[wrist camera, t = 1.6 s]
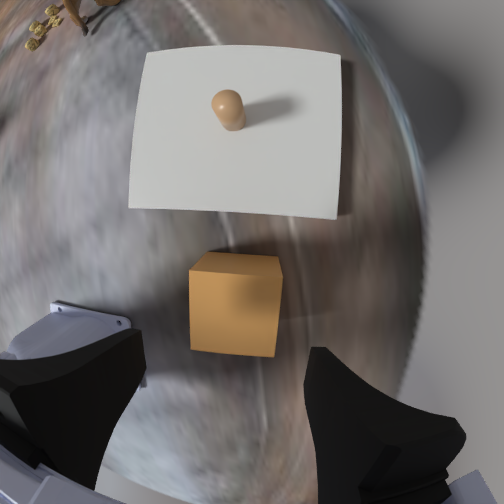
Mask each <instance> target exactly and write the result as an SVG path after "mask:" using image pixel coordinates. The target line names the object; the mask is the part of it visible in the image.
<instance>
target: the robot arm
mask: <svg viewBox="0 0 504 504" xmlns="http://www.w3.org/2000/svg"><path fill="white" fill-rule="evenodd" d="M50 309H51V313H50V314H48V315H47V316H45V317H44V318H42V319H41V320H39V321H38V322H36V323H35V324H33V325H31V326H30V327H28V328H27V329H25V330H24V331H22V332H21V333H19V334H18V335H17V336H16V337H15V338H14V339H13V340H12V341H11V343H10V345H9V347H8V350H7V352H6V351H4V352H2V353H1V354H0V503H1V504H125V503H123V502H120V501H117V500H115V499H112V498H110V497H107V496H105V495H102V494H100V493H97V492H95V491H94V490H95V485H96V481H97V476H98V473H99V469H100V466H101V462H102V459H103V456H104V453H105V450H106V448H107V445H108V442H109V440H110V437H111V435H112V432H113V430H114V428H115V426H116V424H117V422H118V420H119V418H120V416H121V415H122V413H123V412H124V410H125V408H126V407H127V405H128V403H129V402H130V400H131V398H132V397H133V395H134V393H135V392H136V391H140V389H141V384H140V383H141V380H142V378H143V375H144V373H145V370H146V362H145V355H144V348H143V341H142V333H141V330H137V329H131V322H130V320H129V319H128V318H126V317H122V316H116V315H111V314H106V313H101V312H96V311H91V310H86V309H82V308H77V307H73V306H69V305H64V304H60V303H56V302H52V303H51V304H50ZM118 320H119V321H120V322H121V324H120V323H119V321H118ZM303 385H304V398H305V406H306V410H307V415H308V419H309V424H310V428H311V432H312V437H313V441H314V446H315V452H316V463H317V478H318V504H497V502H496V501H495V499H494V497H493V495H492V493H491V491H490V490H489V488H488V486H487V484H486V483H485V481H484V479H483V477H482V476H481V474H480V472H479V471H478V470H475V471H473V472H471V473H469V474H467V475H465V476H463V477H461V478H459V479H457V480H455V481H453V482H452V483H451V484H449V485H447V483H446V481H445V479H447V478H448V476H449V474H448V472H447V470H446V468H447V467H448V466H449V464H450V463H451V462H452V461H453V460H454V458H455V457H456V456H457V454H458V453H459V452H460V450H461V449H462V448H463V446H464V443H465V441H466V433H465V432H464V430H463V429H462V427H461V426H460V424H459V423H458V422H457V420H456V419H455V418H452V417H447V416H442V415H437V414H433V413H429V412H426V411H422V410H419V409H416V408H414V407H411V406H408V405H406V404H404V403H401V402H399V401H397V400H395V399H393V398H391V397H389V396H387V395H385V394H384V393H382V392H380V391H379V390H377V389H375V388H374V387H372V386H371V385H369V384H368V383H367V382H365V381H364V380H363V379H361V378H360V377H359V376H357V375H356V374H355V373H354V372H353V371H351V370H350V369H349V368H348V367H347V366H346V365H345V364H343V363H342V362H341V361H340V360H339V359H338V358H337V357H336V356H335V355H334V354H333V353H332V352H331V351H329V350H328V349H327V348H326V347H311V350H310V355H309V360H308V365H307V370H306V375H305V380H304V384H303Z"/></svg>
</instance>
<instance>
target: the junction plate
mask: <svg viewBox="0 0 504 504" xmlns="http://www.w3.org/2000/svg"><path fill="white" fill-rule="evenodd" d="M341 134H342V86H341V59H340V55H337V54H332V53H326V52H319V51H313V50H305V49H297V48H287V47H274V46H254V45H221V46H201V47H188V48H178V49H170V50H163V51H156V52H150V53H147V56H146V60H145V65H144V69H143V75H142V80H141V85H140V91H139V97H138V103H137V110H136V117H135V125H134V133H133V143H132V153H131V166H130V183H129V208H151V209H183V210H206V211H226V212H243V213H259V214H273V215H286V216H299V217H311V218H322V219H332V220H337V208H338V196H339V181H340V163H341Z"/></svg>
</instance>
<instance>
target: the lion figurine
mask: <svg viewBox="0 0 504 504" xmlns="http://www.w3.org/2000/svg"><path fill="white" fill-rule="evenodd" d="M62 1H63V4H64V6H65V8H66V9H67V11H68V12H69V14H70V18H71V20H72V21H73V22H74V23H75V24H76V25H77V26H81V28H82V31H83V36H86V35H87V33H88V27H87V26H86V24H85V23H86V22H87V20H88V18H87V16H83V17H82V18H80V16H79V8H80V4H81V0H62ZM95 1H96V3H97V5H98V6H114V5H116V4H118V3H119V2H120V1H121V0H95Z"/></svg>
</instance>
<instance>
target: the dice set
mask: <svg viewBox="0 0 504 504" xmlns="http://www.w3.org/2000/svg"><path fill="white" fill-rule="evenodd" d="M59 10H60V9H59V8H58V7H57V6H56V5H54V4H52V5H50V6H49V7H48V8H47V9H46V11H45V13H46V14H47V15H49V16H50V17H52V18H50V21H49V23H48V25H51V24H53V25H52V27H57V26H59V24H60V22H61V21H62V19H61V18H60V19H57V16H55V15H56V14H57V13H58V12H59ZM56 19H57V20H56ZM29 30H30V31H32V32H34V34H35V35H37V36H40V37H42V36H43V35H44V34H45V33H46V32H47V29H46V28H45V26H43V24H41V23H40V22H38V21H35V22H33V23H32V24H31V26H30V28H29ZM39 43H40V42H39V41H38V40H36V39H34V38H30V39H29V40H28V41H27V43H26V45H25V48H26V49H28V50H30V51H32V52H33V51H34V50H36V48H37V47H38V46H39Z"/></svg>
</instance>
